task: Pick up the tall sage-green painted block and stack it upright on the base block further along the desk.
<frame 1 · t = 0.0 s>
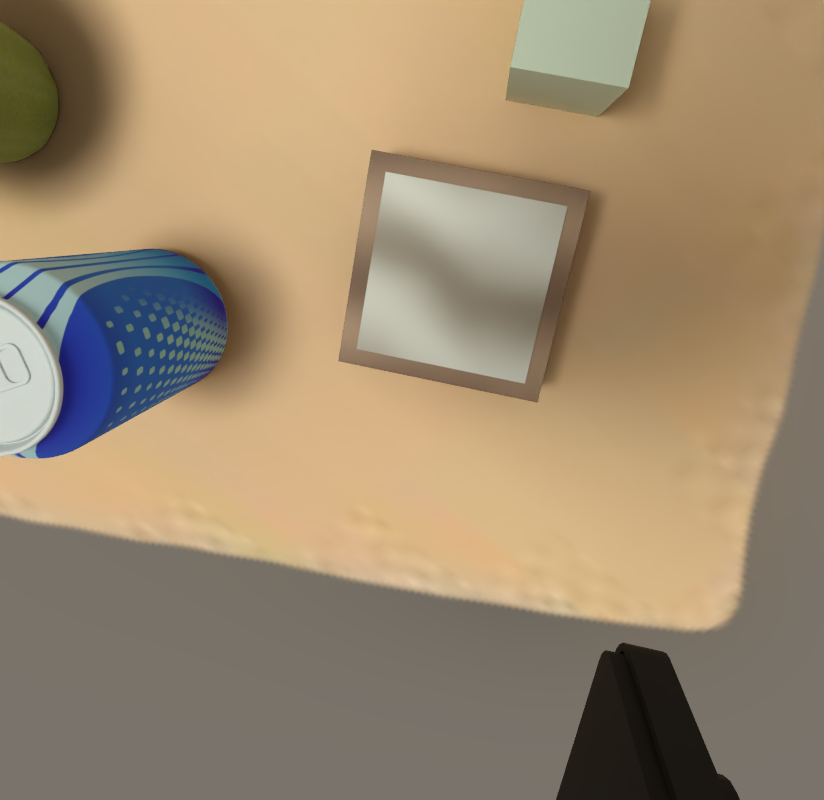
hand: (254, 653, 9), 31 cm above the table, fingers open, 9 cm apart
green block: (563, 57, 35), on the table
base block: (460, 274, 38), on the table
beer can: (171, 317, 41), on the table
plant pot: (6, 95, 39), on the table
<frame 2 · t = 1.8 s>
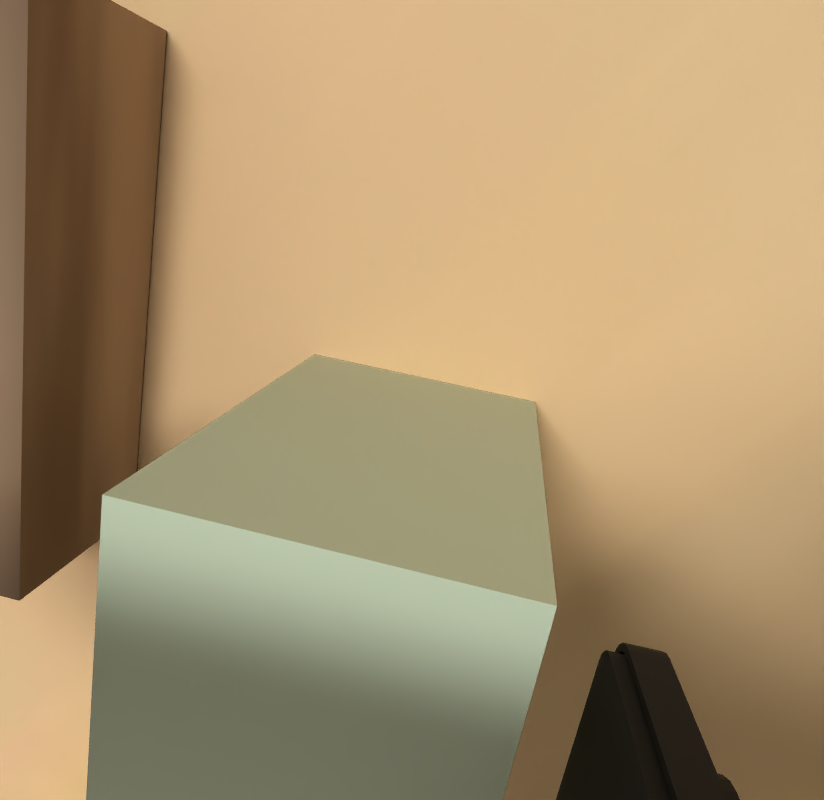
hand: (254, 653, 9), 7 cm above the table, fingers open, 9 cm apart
green block: (403, 480, 15), on the table
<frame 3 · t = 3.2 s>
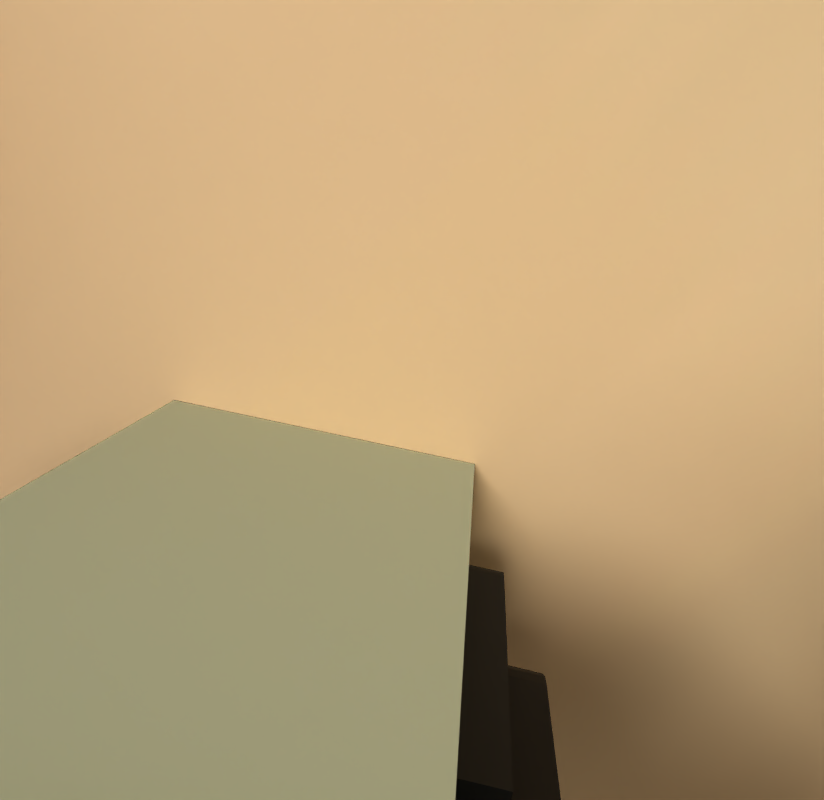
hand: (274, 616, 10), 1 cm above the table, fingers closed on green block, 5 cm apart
green block: (301, 567, 11), on the table, touching gripper
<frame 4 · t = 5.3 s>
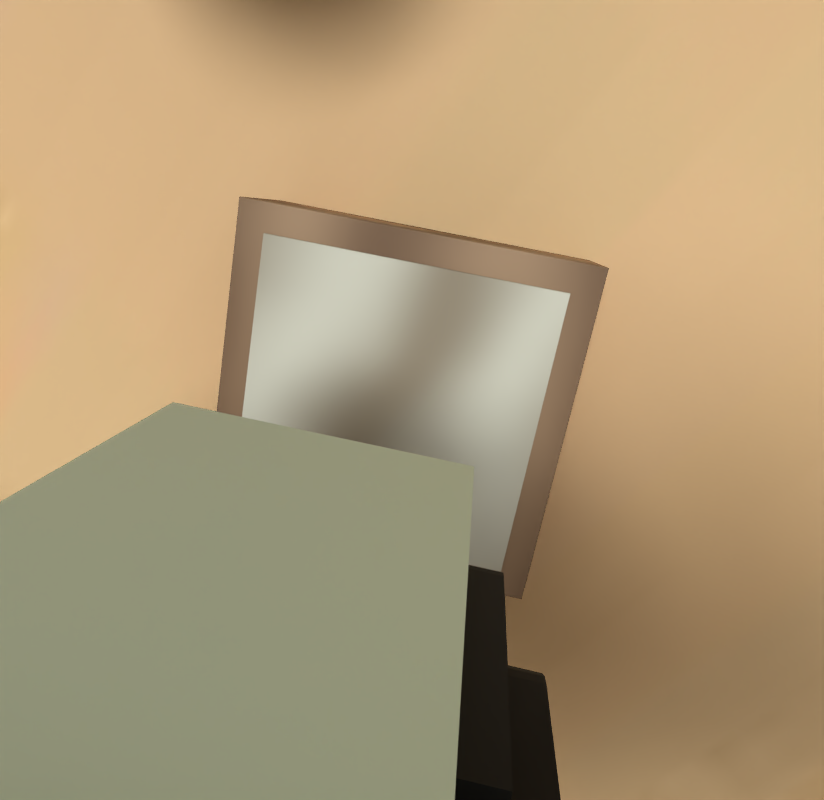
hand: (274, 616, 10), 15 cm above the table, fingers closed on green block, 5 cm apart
green block: (300, 569, 11), point 14 cm above the table, touching gripper
base block: (404, 379, 25), on the table
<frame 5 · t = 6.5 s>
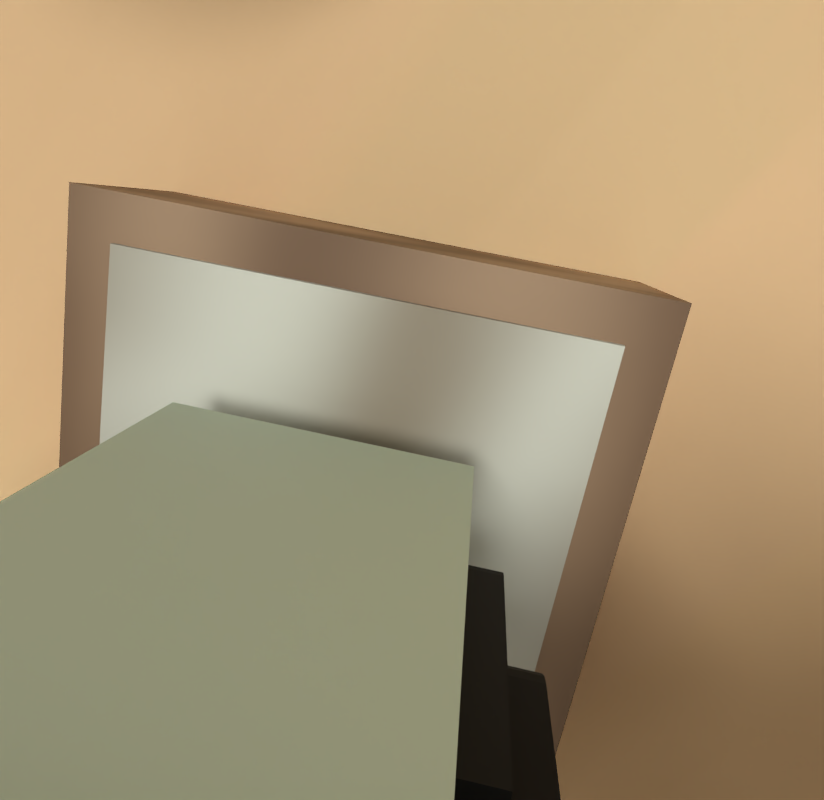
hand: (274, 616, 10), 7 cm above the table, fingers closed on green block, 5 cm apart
green block: (300, 569, 11), point 6 cm above the table, touching gripper
base block: (363, 455, 17), on the table
when the fingers open (7 cm above the table, at t = 7.3 s): green block drops 1 cm, resting on base block.
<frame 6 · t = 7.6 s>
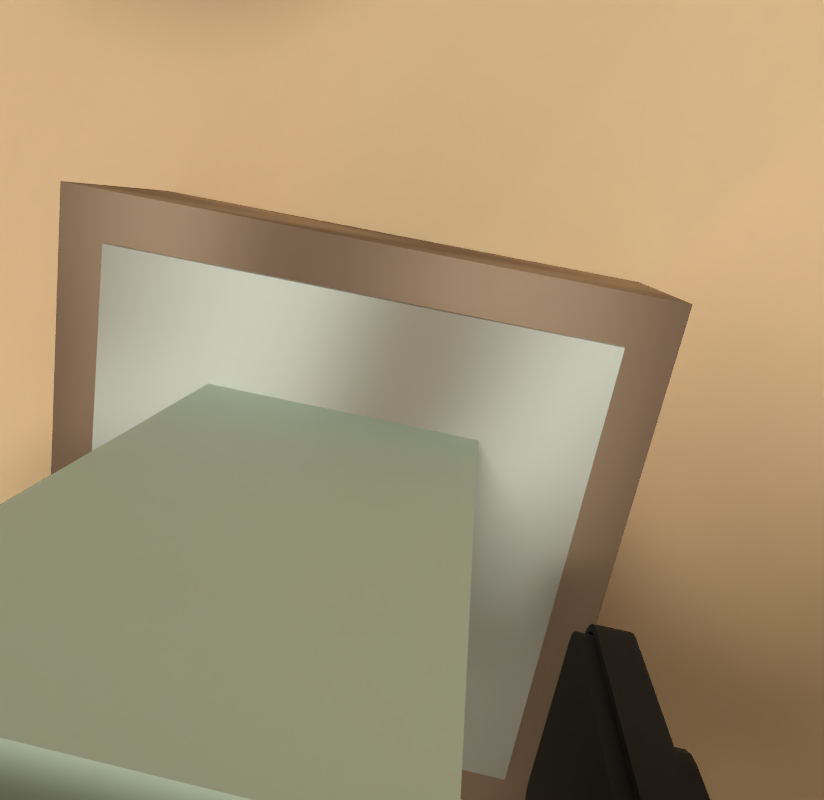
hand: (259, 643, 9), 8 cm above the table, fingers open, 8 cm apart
green block: (321, 534, 13), point 4 cm above the table, touching base block
base block: (360, 458, 17), on the table
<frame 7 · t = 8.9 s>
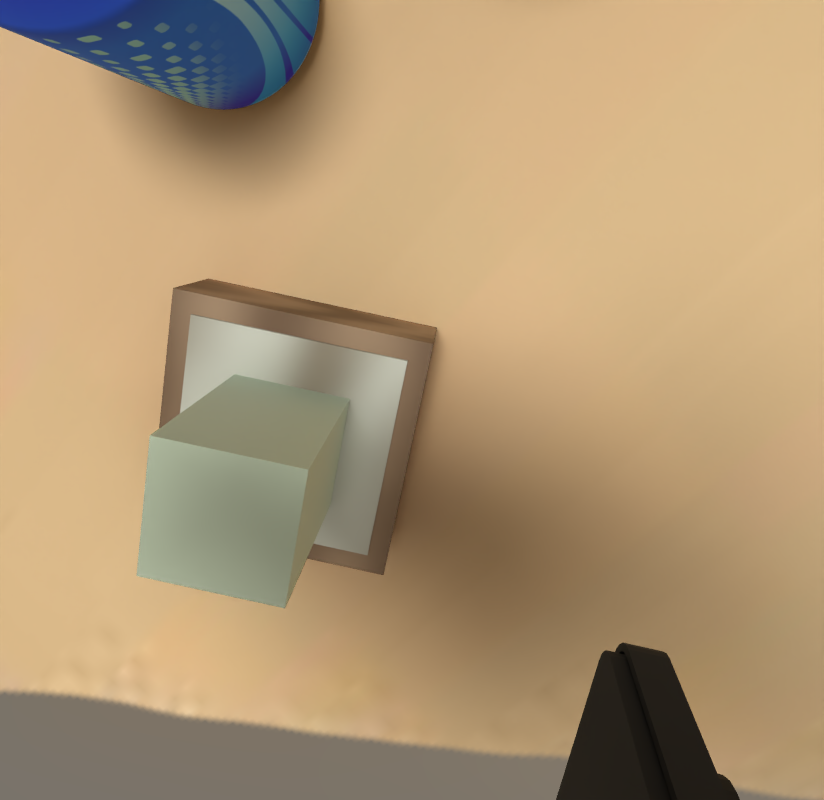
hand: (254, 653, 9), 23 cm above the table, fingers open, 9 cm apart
green block: (283, 440, 29), point 4 cm above the table, touching base block
base block: (304, 412, 33), on the table
beer can: (229, 8, 28), on the table
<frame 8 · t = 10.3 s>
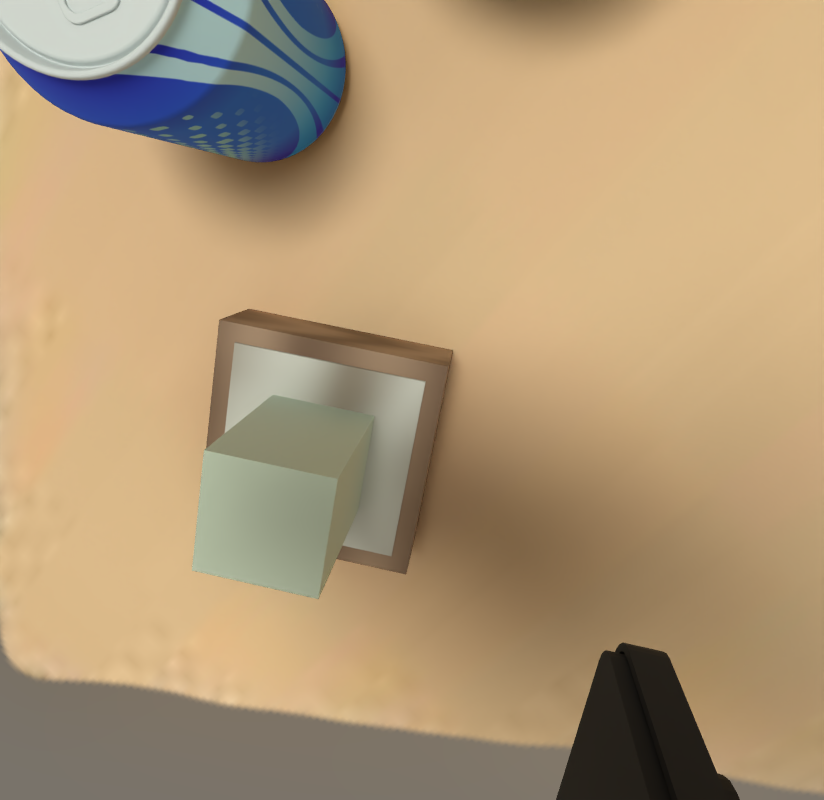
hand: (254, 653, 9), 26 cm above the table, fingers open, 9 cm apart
green block: (316, 453, 32), point 4 cm above the table, touching base block
base block: (334, 427, 36), on the table
beer can: (267, 73, 32), on the table
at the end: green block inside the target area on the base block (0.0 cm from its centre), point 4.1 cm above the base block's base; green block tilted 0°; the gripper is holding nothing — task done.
